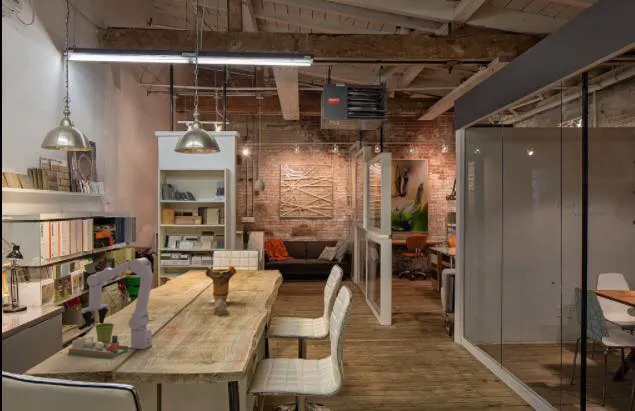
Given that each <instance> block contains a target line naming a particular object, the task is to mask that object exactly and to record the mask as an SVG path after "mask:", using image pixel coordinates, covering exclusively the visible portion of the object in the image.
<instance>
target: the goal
mask: <svg viewBox="0 0 635 411" xmlns="http://www.w3.org/2000/svg"><path fill="white" fill-rule="evenodd" d="M88 340H91V341H90V342H91V344H88V343H85V342H87V341H88ZM93 343H94V336H90V337H87V338H86V336H84V337H81V338H78V339H74V340H72V348H74V349H82V347H93Z"/></svg>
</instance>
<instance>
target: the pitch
mask: <svg viewBox="0 0 635 411" xmlns="http://www.w3.org/2000/svg"><path fill="white" fill-rule="evenodd" d="M85 343H88V344H91V341H90V342H89V341H85ZM96 343H97V342H93V347H82V349H74V348H71V347H70V348H68V355H76V356H85V357H86V356H87V357H95V358H96V357H99V358H109V359H113V358H115V357H117V356H119V355H122V354H125V353H126V352H128V351H129V348H128V346H129V345H125V344H119V350H118V351H115V352H112V351H109V352H107V351H106V346H108V345H110V343H103V344H104V347H103V349H102V350H96V349H95V344H96Z"/></svg>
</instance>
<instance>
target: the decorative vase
mask: <svg viewBox="0 0 635 411" xmlns="http://www.w3.org/2000/svg"><path fill="white" fill-rule="evenodd" d="M212 267H213V266H212V265H210V266H208V267H207V270H206V271H205V276H206V277H207V278H210V279H211V280H212V283H213V284H212V286H213V287H212V288H213V290H212V291H213V293H212V296H213V299H211V300H208V303H211V304H215V303H216V301H217V300H218V299H220V298H221V299H222V300H223V302H224V303H226V304H229V303H233V300H232V299H228V295H229V297H230V296H231V295H230V292H229V289H230V288H229V283H230V280H231V278H233V277H234V276H235V274H237V268H235V266H234V265H233V264H231V265H229V266H228V268H212Z"/></svg>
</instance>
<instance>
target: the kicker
mask: <svg viewBox="0 0 635 411" xmlns="http://www.w3.org/2000/svg"><path fill="white" fill-rule="evenodd" d="M118 336H119V335H117V334H114V335H113V334H112V336H111V341H110V342H109V344H110V345H108V346H106V351H107V352H109V351H112V352H115V351H118V350H119V345H120V341H118V340H119V339H118Z"/></svg>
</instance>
